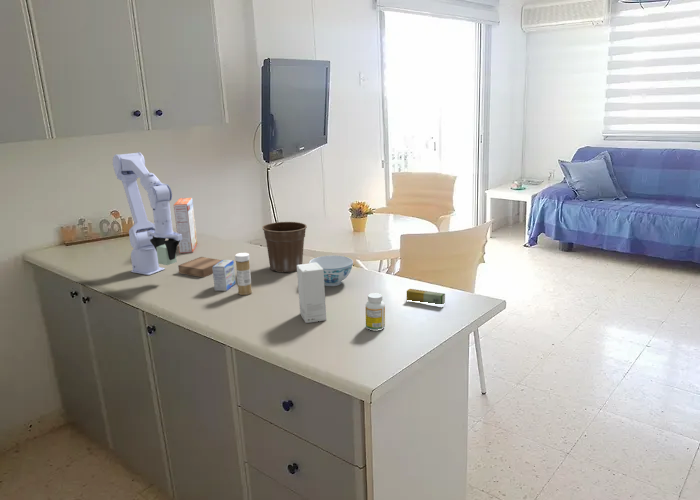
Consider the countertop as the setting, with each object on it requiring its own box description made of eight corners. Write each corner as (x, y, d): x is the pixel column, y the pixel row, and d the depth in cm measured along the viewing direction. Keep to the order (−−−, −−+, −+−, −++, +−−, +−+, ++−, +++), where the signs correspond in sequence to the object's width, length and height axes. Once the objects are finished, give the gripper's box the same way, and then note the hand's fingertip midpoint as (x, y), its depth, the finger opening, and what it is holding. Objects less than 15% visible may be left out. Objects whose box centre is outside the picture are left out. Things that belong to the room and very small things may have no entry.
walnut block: (179, 273, 209) (178, 265, 209) (201, 264, 220) (200, 256, 219) (203, 277, 204) (203, 269, 203) (225, 268, 214) (225, 260, 213)
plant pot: (302, 259, 223) (300, 219, 218) (313, 271, 208) (311, 228, 204) (261, 264, 218) (258, 223, 214) (269, 276, 203) (266, 233, 199)
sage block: (158, 263, 197) (156, 247, 196) (167, 260, 201) (165, 244, 199) (167, 265, 195) (165, 248, 194) (176, 261, 199) (175, 245, 197)
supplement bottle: (377, 333, 154) (376, 300, 152) (361, 328, 158) (361, 296, 155) (388, 327, 158) (388, 294, 156) (373, 322, 162) (373, 290, 159)
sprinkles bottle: (249, 290, 190) (246, 251, 186) (253, 294, 186) (250, 254, 182) (236, 292, 188) (233, 253, 184) (240, 296, 184) (236, 256, 180)
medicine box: (226, 291, 189) (224, 266, 187) (214, 290, 190) (212, 266, 188) (235, 283, 197) (234, 259, 194) (223, 283, 197) (221, 259, 195)
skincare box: (326, 321, 163) (324, 269, 159) (304, 324, 161) (301, 272, 157) (319, 310, 171) (318, 261, 167) (298, 313, 169) (295, 263, 165)
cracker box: (183, 244, 248) (178, 197, 243) (197, 244, 249) (193, 197, 243) (178, 253, 235) (172, 204, 229) (192, 252, 235) (187, 203, 230)
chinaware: (360, 279, 199) (360, 257, 197) (341, 292, 186) (341, 270, 184) (322, 274, 205) (321, 253, 203) (302, 287, 192) (301, 265, 190)
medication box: (445, 305, 173) (445, 293, 172) (442, 308, 171) (442, 296, 170) (409, 299, 179) (409, 287, 178) (405, 302, 177) (405, 290, 176)
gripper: (138, 220, 194) (143, 258, 198) (169, 224, 187) (174, 263, 191) (154, 216, 200) (158, 253, 204) (185, 220, 193) (188, 258, 197)
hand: (167, 258), depth 198 cm, fingers closed on sage block, 4 cm apart
